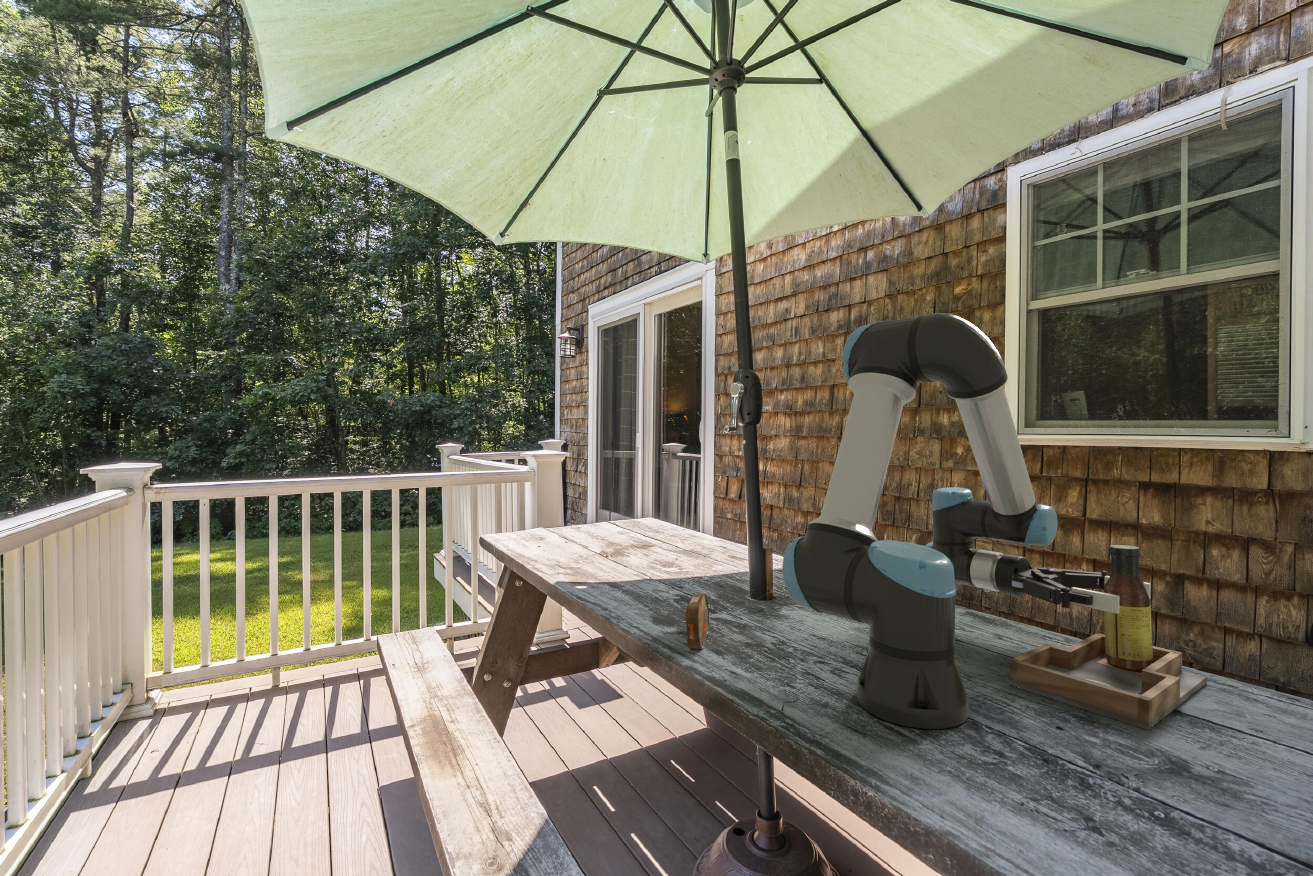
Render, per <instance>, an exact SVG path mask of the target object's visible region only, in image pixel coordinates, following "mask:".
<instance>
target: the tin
mask: <svg viewBox="0 0 1313 876" xmlns="http://www.w3.org/2000/svg"><path fill="white" fill-rule="evenodd" d="M709 611H710V610H709V601H708V596H707V593H706V592H704V593H694V594H693V595H692V596H691V597H690V599H689V602H688V604H687V606H686V608H685V626H686V637H687V638H686V639H687V640H686V643H687V647H688V649H690V650H704V648H702V645H703V642H704V639H705V637H706V636H705V635H706V633H707V632H708V631H709V630H710V612H709ZM709 632H710V631H709Z"/></svg>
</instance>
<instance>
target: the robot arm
mask: <svg viewBox="0 0 1313 876" xmlns="http://www.w3.org/2000/svg"><path fill="white" fill-rule="evenodd" d="M841 356H842V357H841V362H842V363H843V366H842V372H843V374H844V377H845V379H846V380H847V382H848V383H847V385H848V388H849V389H850V391H851V392H852V393H853V398H852V401H851V405H850V406H849V407H850V408H849V411H848V415H847V418H846V423H845V427H844V429H843V433H842V437H841V440H840V445H839V447H838V452H837V454H836V458H835V463H834V464H833V465H834V466H833V469H832V472H831V473H832V474H831V477H830V481H829V483H828V486H827V487H828V488H827V491H826V495H825V498H824V501H823V506H822V509H821V512H820V515H819V517H817V518H815V519H813V520H812V521H809V523H808V525H807V529H806V531H805V535H802V536H798V537H796V538H793V540H792V542H789V544H788V546H786V549H785V552H784V554H783V559H782V578H783V583H784V585H785V586H786V591H787V593H788V594H789V596H790V598H791V599H792V600H793V601H794V602H795V603H797V605H799V606H802V607H805V608H808V609H811V610H812V611H814V612H816V613H820V614H822V613H824V614H828V615H831V616H836V617H840V618H842V619H847V620H849V621H853V622H857V623H861V624H865V625H868V626H869V627H868V629H869V630H868V632H869V639H868V640H869V643H868V644H869V648H868V651H867V654H866V656H865V659H864V662H863V666H862V667H861V671H860V674H859V677H858V680H857V685H856V687H857V689H856V690H857V691H856V692H857V693H856V694H857V703H859V705H860V706H861V707H862V708H863V709H864V710H865V711H867V712H868V713H870V714H871V715H873V716H875V717H877V718H879V719H881V720H884V721H886V722H890V723H893V724H896V725H900V726H903V727H909V728H915V729H916V728H917V729H925V730H927V729H928V730H939V729H943V730H944V729H950V728H955V727H957V726H960V725H961V724H963V723H965V722H966V721H967V719H968V718H969V697H968V693H967V691H966V689H965V685H964V682H963V679H962V675H961V673H960V671H959V667H958V664H957V661H956V656H955V655H956V653H955V651H956V650H955V649H956V647H955V643H956V641H955V639H956V593H957V585H956V584H959V585H964V586H970V587H974V588H980V589H983V591H984V592H986V593H989V592H991V591H993V592H1000V593H1002V594H1004V595H1005V594H1006V595H1010V596H1014V597H1015V596H1016V597H1023V596H1025V595H1029V596H1031V597H1034V598H1037V599H1039V600H1042V601H1045V602H1048V603H1050V604H1054V605H1055V606H1056V605H1057V606H1059V605H1061V608H1064V609H1070V608H1071V607H1070V606H1071V605H1075V606H1078V607H1085V608H1089V609H1093V610H1098V611H1103V612H1104V611H1108V612H1112V613H1117V614H1118V613H1119V596H1117V595H1112V594H1107V593H1104V592H1101V591H1096V590H1103V591H1104V585H1105V583H1106V582H1107V580H1108V579H1109V577H1110V575H1108V571H1106V570H1101V572H1096V571H1086V570H1074V569H1065V568H1063V569H1062V568H1057V567H1056V568H1054V567H1050V566H1044V567H1037V569H1033V567H1032V566H1031V563H1030V561H1029V560H1028V559H1027V558H1026V557H1025V556H1022V555H1015V554H1010V553H1009V554H1007V553H1005V554H1004V553H1003V552H998V551H991V550H986V549H978V548H974V544H975V540H974V539H976V538H977V539H985V540H992V541H1001V542H1007V543H1011V544H1012V543H1013V544H1021V545H1024V546H1028V545H1029V546H1041V547H1042V546H1043V547H1044V546H1049V545H1051V544H1052V543H1053V541H1054V540H1055V538H1056V536H1057V534H1058V526H1059V525H1058V516H1057V513H1056V510H1055V509H1054V508H1053V507H1052V506H1049V505H1045V504H1042V503H1039V504H1038V502H1037V499H1036V496H1035V493H1034V489H1033V486H1032V482H1031V478H1030V475H1029V471H1028V468H1027V465H1026V462H1025V458H1024V454H1023V450H1022V448H1021V443H1020V440H1019V438H1018V433H1017V430H1016V426H1015V423H1014V419H1013V416H1012V412H1011V408H1010V405H1009V402H1008V398H1007V394H1006V391H1005V388H1004V387H1005V386H1006V384H1007V383H1008V380H1009V376H1008V374H1007V370H1006V366H1005V363H1004V360H1003V358H1002V355H1001V354H1000V353H999V351H998V349H997V348H996V347H995V344H993V342H992V341H991V340H990V338H989V337H988V336H987V335H986V334H985V333H984V332H983V331H981V330H980V329H979V328H978V327H977V326H976V325H975V324H973V323H971V322H970V321H968V320H966V319H964V318H963V317H960V316H958V315H955V314H952V313H945V312H935V313H934V312H933V313H928V314H924V315H918V316H913V317H912V316H911V317H906V318H900V319H893V320H888V321H887V320H877V321H874V322H872V323H869V324H864V325H862V326H859V327H857V328H856V329H855V330H854V331H852V333H850V335H849V336H848V338H847V340H846V342H845V343H844V346H843V349H842V355H841ZM933 382H938V383H940V384H941V385H943V387H944V390H945V393H946V395H947V396H948V397H949V398H950V399H953V400H955V402H956V405H957V407H958V411H959V414H960V417H961V420H962V423H963V426H964V429H965V432H966V435H967V438H968V442H969V445H970V448H971V450H972V453H973V457H974V460H975V462H976V465H977V468H978V472H979V474H980V477H981V480H982V484H983V487H984V490H985V493H986V495H987V499H988V500H982V499H974V496H973V493H972V490H970V489H969V488H964V487H956V486H955V487H951V486H950V487H942V488H937V489H935V490H934V491H932V499H931V500H932V501H931V505H932V507H931V514H932V532H933V534H932V535H933V540H932V541H931V542H927V544H926V545H922V544H917V543H914V542H910V541H898V540H893V539H891V540H890V539H888V540H887V539H885V540H884V539H883V540H882V539H881V540H878V538H877V537H876V536H875V534H874V532H873V529H874V527H873V526H874V523H875V520H876V515H877V512H878V508H879V504H880V500H881V496H882V492H883V487H884V483H885V480H886V476H887V471H888V467H889V463H890V460H891V456H892V452H893V448H894V445H895V440H896V436H897V432H898V428H899V426H900V424H899V423H900V420H901V417H902V412H903V409H904V408H903V407H904V406H905V405H906V404H908V403H911V402H912V401H913V400H914V399H915V397H916V393H917V390H918V386H919V384H922V383H933ZM1143 583H1144V586H1145V588H1146V591H1147V594H1148V596H1149V598H1150V599H1151V590H1152V589H1151V583H1150V582H1145V581H1143ZM1070 604H1071V605H1070Z"/></svg>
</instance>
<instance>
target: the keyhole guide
mask: <svg viewBox="0 0 1313 876" xmlns="http://www.w3.org/2000/svg"><path fill="white" fill-rule="evenodd" d="M1152 648H1153V659H1152V664H1151V665H1150V666H1148V667H1146V668H1145V669H1143V670H1142V671H1131V670H1126V669H1122V668H1118V667H1116V666H1114V665H1112V664H1110V663H1109V662H1108V661H1107V654H1106V646H1105V634H1103V633H1098V632H1097V633H1095V634H1092V635H1090V636H1088V637H1087V638H1084V639H1083V640H1081V641H1078V642H1076V643H1074V644H1073V645H1070V646H1068V647H1066V648H1064V647H1061V646H1057V645H1053V644H1049V643H1043V644H1041V645H1040V646H1037V647H1035V648H1033V649H1030V650H1029V651H1026V652H1024V653H1021V654H1019V655H1016V656H1015V657H1013V658H1011V659H1009V660H1008V685H1009V684H1010V685H1013V686H1016V687H1019V688H1020V690H1022V689H1024V690H1023V691H1025V690H1027V691H1026V692H1028V691H1030V692H1029V693H1032V692H1033V693H1032V694H1035V693H1037V694H1036V695H1038V694H1039V695H1038V696H1041V695H1042V696H1041V697H1044V696H1046V697H1045V698H1047V697H1049V698H1048V699H1050V698H1052V699H1051V700H1053V699H1054V701H1056V700H1057V702H1059V703H1063V702H1064V703H1063V704H1066V705H1070V706H1073V707H1076V708H1079V709H1081V710H1085V711H1088V712H1090V713H1094V714H1096V715H1100V716H1103V717H1106V718H1110V719H1113V720H1115V719H1116V721H1119V722H1123V723H1125V724H1128V725H1131V726H1135V727H1138V728H1141V729H1144V730H1148V731H1150V730H1151V729H1152V728H1153V727H1155V726H1156V725H1157V724H1158V723H1159V722H1161V721H1162V720H1163V719H1164V718H1166V717H1167V716H1168V715H1170V713H1172V712H1173V711H1174V710H1175V709H1177V708H1178V707H1179V706H1181V705H1182V704H1183V703H1185V702H1186V700H1188V699H1189V698H1191V696H1193V695H1194V694H1195V693H1197V692H1198V691H1199V690H1200V689H1201V688H1203V687H1204V686H1205V685H1207V678H1208V677H1207V676H1204V675H1199V674H1195V673H1192V672H1187V671H1183V652H1181V651H1176V650H1172V649H1167V648H1163V647H1159V646H1156V645H1155V646H1154V645H1152ZM1010 685H1009V686H1010ZM1013 686H1012V687H1013ZM1016 687H1015V688H1016ZM1019 688H1018V689H1019ZM1165 716H1166V717H1165ZM1162 718H1163V719H1162ZM1161 719H1162V720H1161ZM1160 720H1161V721H1160ZM1155 724H1156V725H1155ZM1154 725H1155V726H1154ZM1151 727H1152V728H1151ZM1149 729H1150V730H1149Z"/></svg>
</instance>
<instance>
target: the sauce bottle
mask: <svg viewBox="0 0 1313 876" xmlns="http://www.w3.org/2000/svg"><path fill="white" fill-rule="evenodd" d="M1109 555H1110V556H1111V557H1110V559H1111V560H1110V561H1111V562H1110V563H1111V564H1110V565H1111V567H1110V571H1111V572H1110V575H1109V576H1110V577H1109V579H1108V580H1107V582H1106V583H1105V585H1104V590H1103V593H1107V594H1112V595H1117V596H1119V613H1118V614H1117V613H1112V612H1108V611H1103V615H1104V617H1103V618H1104V635H1105V646H1106V654H1107V661H1108V662H1109V663H1110V664H1112V665H1114V666H1116V667H1118V668H1122V669H1126V670H1131V671H1142V670H1143V669H1145V668H1146V667H1148V666H1150V665H1151V664H1152V659H1153V648H1152V646H1153V633H1152V632H1153V629H1152V627H1153V626H1152V610H1151V609H1152V608H1151V597H1150V598H1149V596H1148V594H1147V591H1146V588H1145V586H1144V583H1143V582H1144V581H1143V578H1142V576H1141V575H1142V574H1141V571H1140V560H1139V559H1140V556H1141V551H1140V547H1139V546H1135V545H1129V544H1128V545H1124V544H1111V545H1109Z"/></svg>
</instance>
